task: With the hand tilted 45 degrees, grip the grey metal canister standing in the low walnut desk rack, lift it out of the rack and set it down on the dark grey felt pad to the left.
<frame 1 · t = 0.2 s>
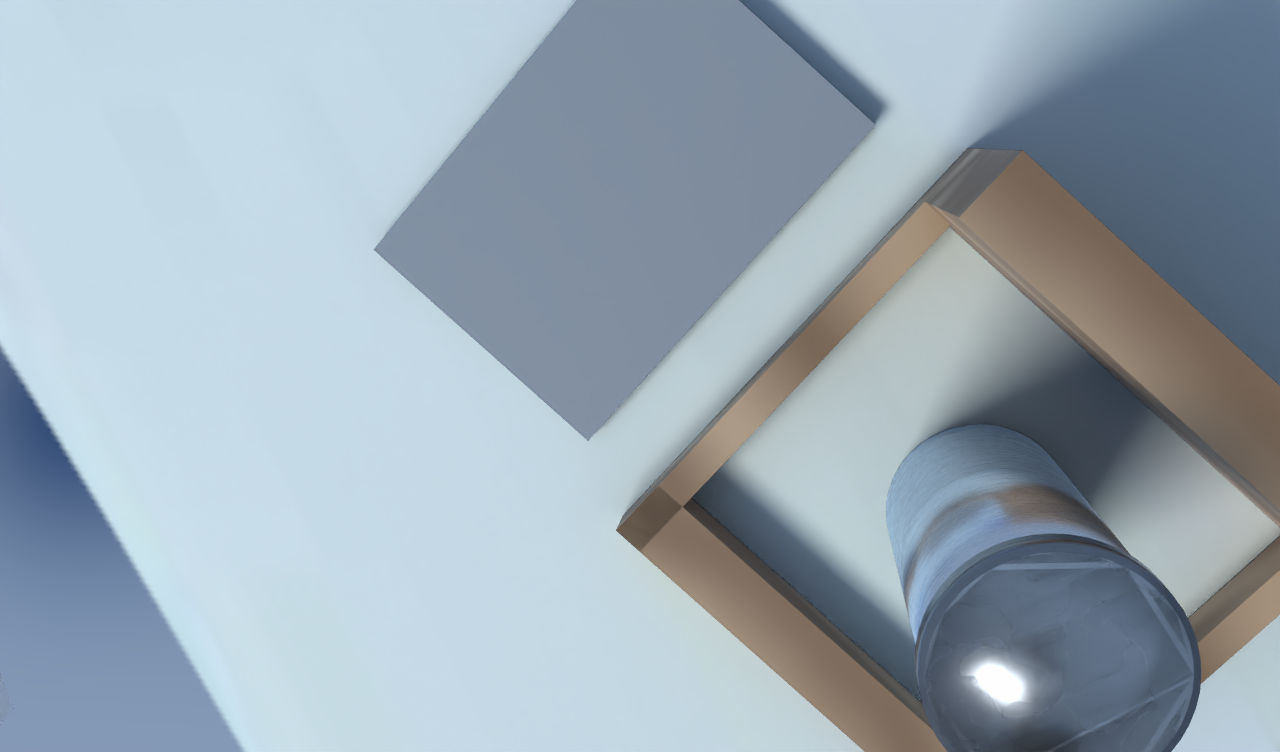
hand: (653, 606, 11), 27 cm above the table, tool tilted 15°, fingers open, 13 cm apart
felt pad: (618, 188, 38), on the table
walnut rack: (977, 512, 38), on the table
canister: (977, 511, 38), resting in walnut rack
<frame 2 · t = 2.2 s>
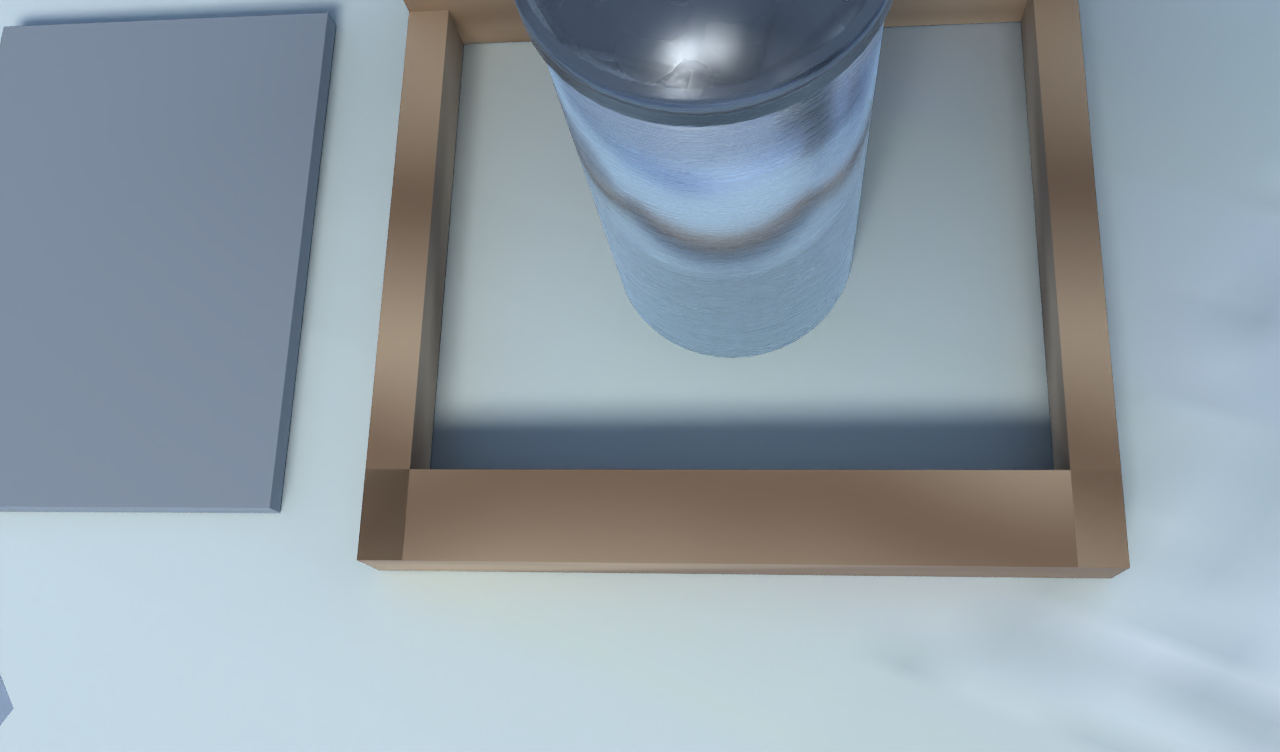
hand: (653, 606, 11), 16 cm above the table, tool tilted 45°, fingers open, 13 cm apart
felt pad: (138, 257, 31), on the table
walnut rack: (733, 245, 29), on the table
canister: (733, 245, 29), resting in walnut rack
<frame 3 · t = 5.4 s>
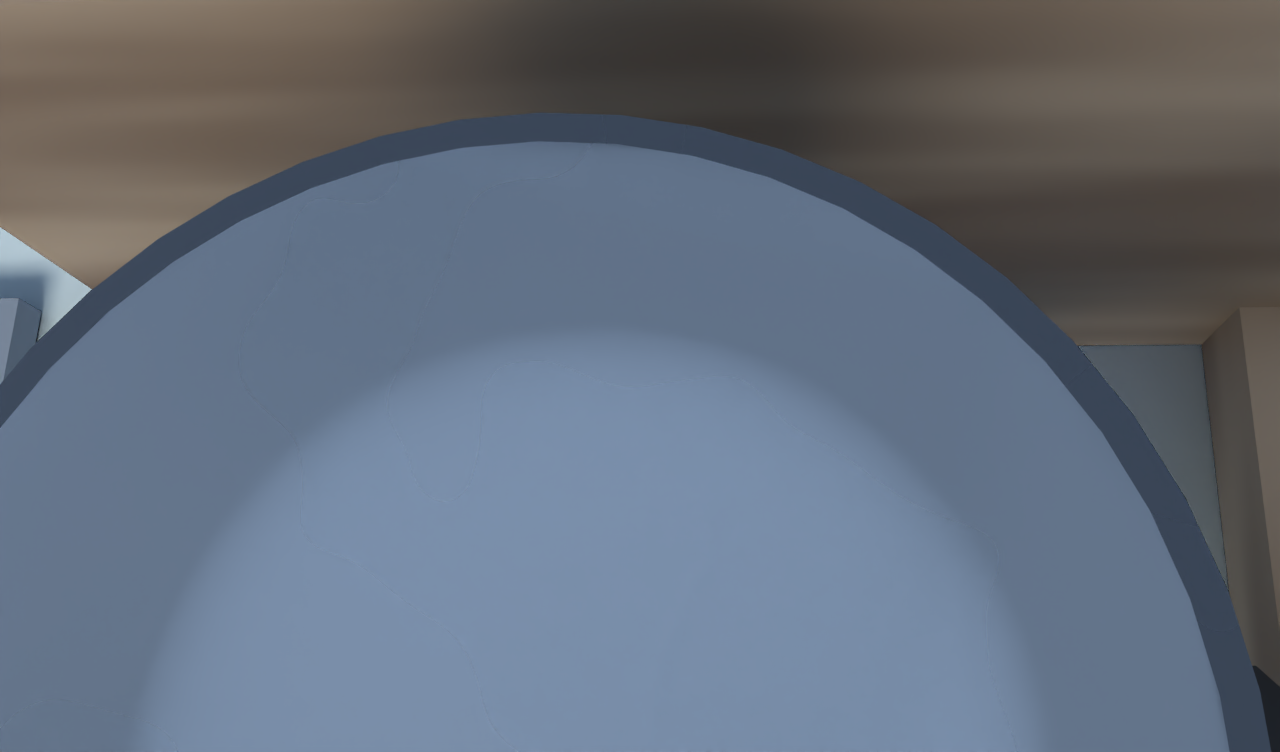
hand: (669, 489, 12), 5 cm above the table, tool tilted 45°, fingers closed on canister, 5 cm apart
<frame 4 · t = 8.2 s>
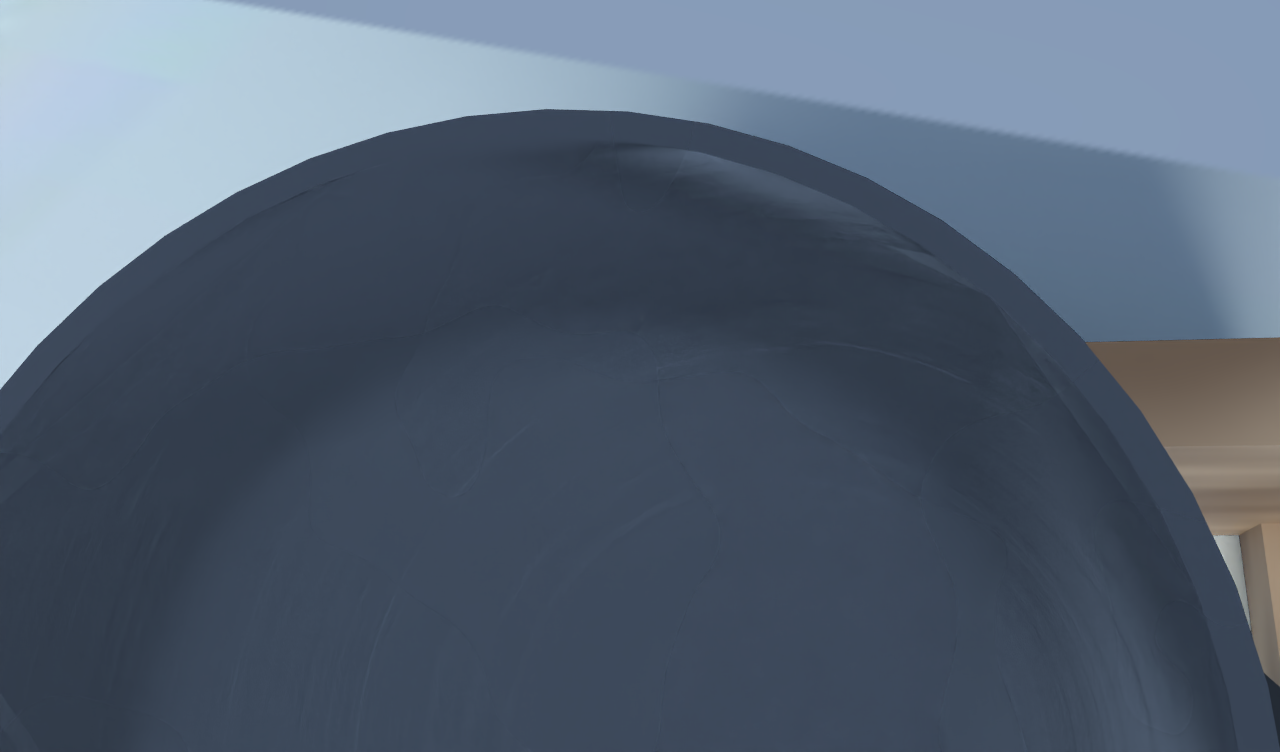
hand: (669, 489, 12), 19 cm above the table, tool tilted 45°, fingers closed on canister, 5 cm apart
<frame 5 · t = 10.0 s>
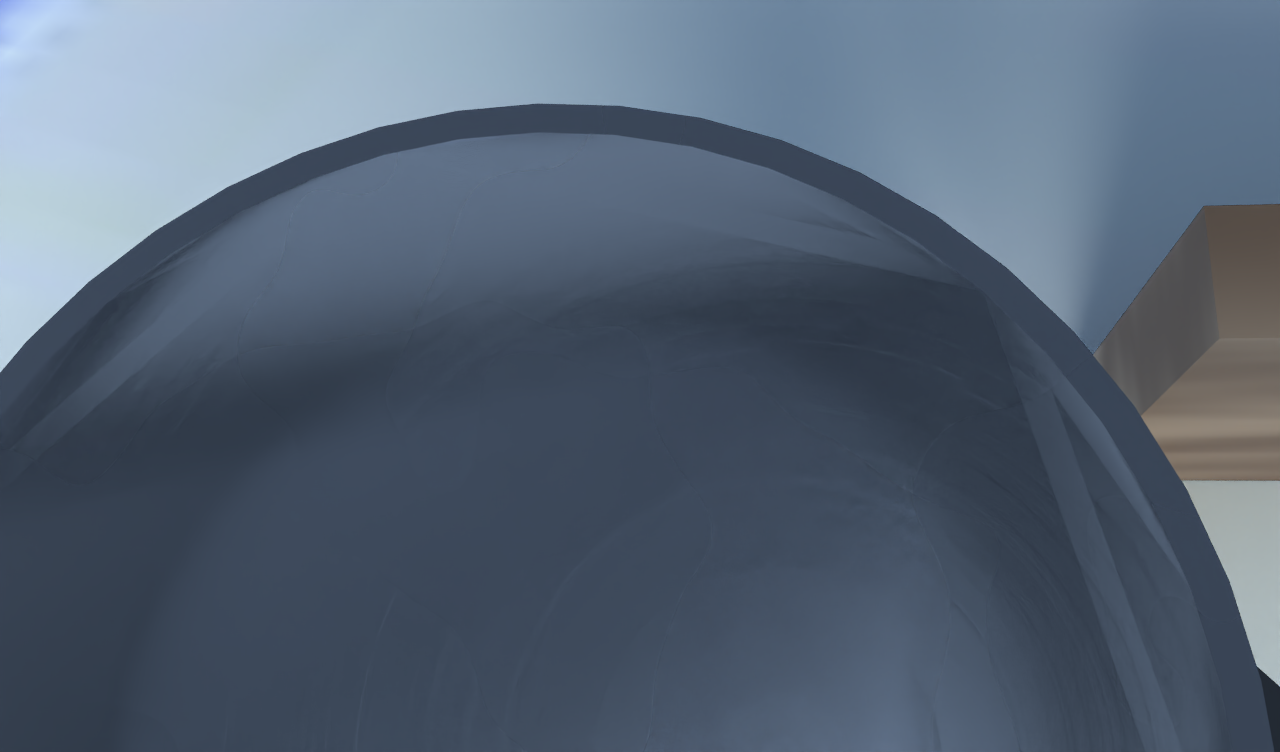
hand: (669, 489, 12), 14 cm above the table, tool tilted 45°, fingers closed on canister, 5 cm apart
when the fingers open (7 cm above the table, at t = 11.4 s): canister drops 1 cm, resting on felt pad.
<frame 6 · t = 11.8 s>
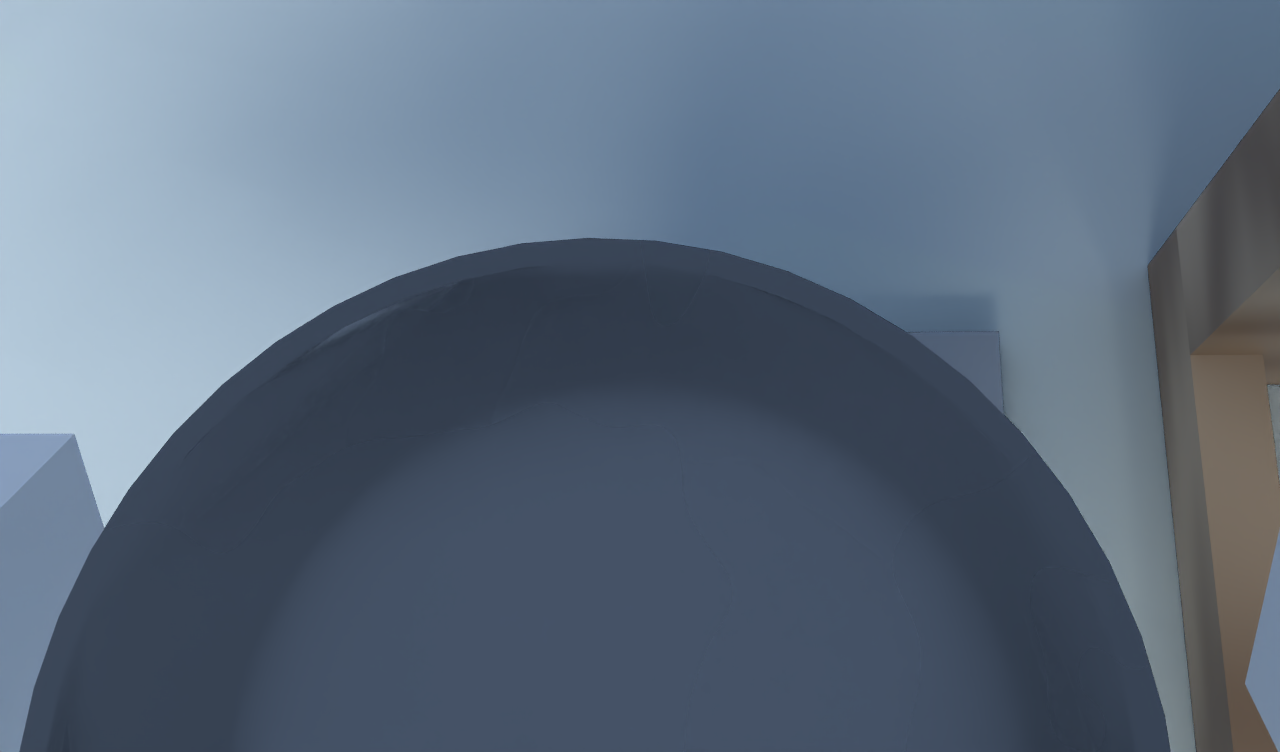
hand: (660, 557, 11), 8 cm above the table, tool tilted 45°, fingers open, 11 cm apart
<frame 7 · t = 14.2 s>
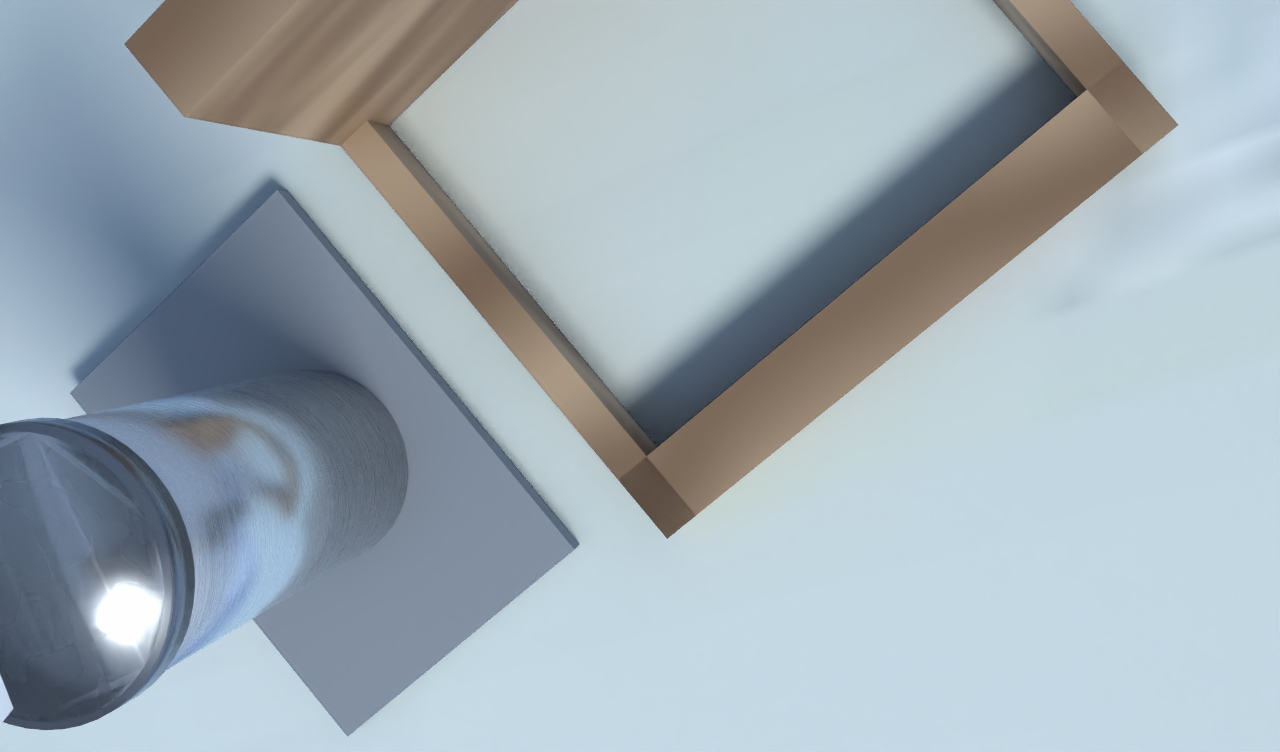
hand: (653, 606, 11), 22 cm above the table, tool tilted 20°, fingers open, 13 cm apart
felt pad: (322, 464, 35), on the table
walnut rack: (714, 112, 32), on the table
canister: (315, 466, 35), point 1 cm above the table, touching felt pad
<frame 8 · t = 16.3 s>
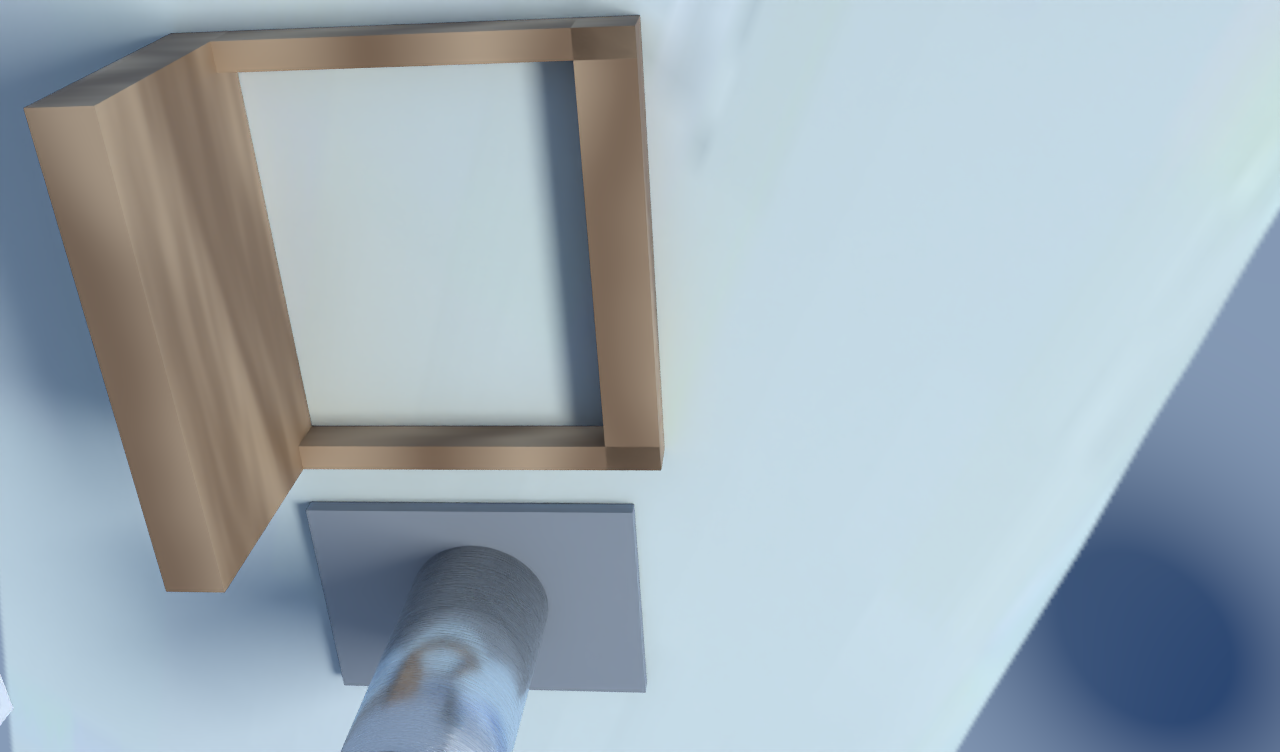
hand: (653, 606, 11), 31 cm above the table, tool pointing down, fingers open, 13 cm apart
felt pad: (483, 594, 50), on the table
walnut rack: (433, 254, 43), on the table
canister: (480, 602, 50), point 1 cm above the table, touching felt pad
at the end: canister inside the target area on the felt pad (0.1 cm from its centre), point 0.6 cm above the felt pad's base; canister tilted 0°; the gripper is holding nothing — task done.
